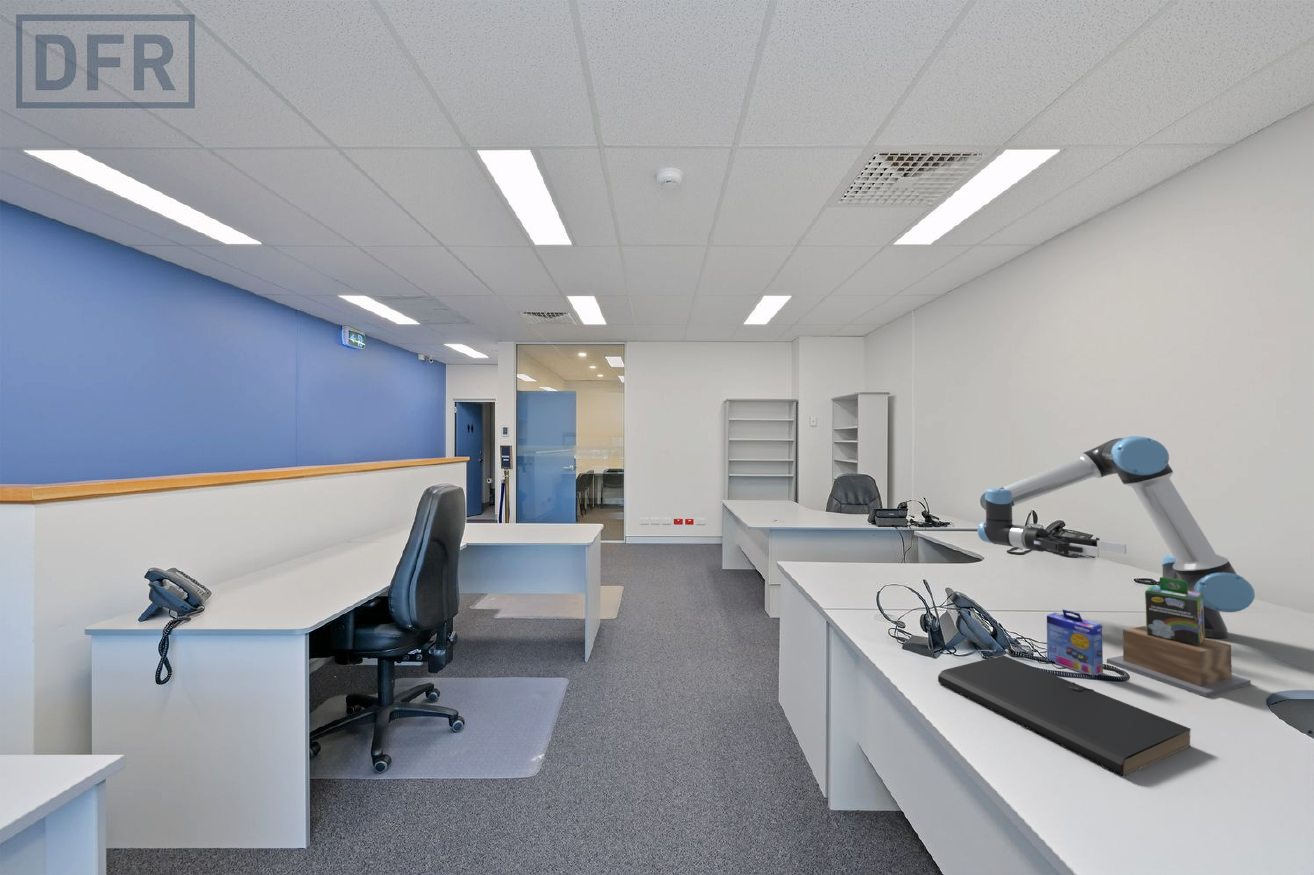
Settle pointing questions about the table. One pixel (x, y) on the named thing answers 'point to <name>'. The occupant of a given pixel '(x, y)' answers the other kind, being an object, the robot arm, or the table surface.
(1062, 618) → the ink cartridge box
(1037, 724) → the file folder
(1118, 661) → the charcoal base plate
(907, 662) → the table surface
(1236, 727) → the table surface
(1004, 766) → the table surface
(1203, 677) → the walnut base brick
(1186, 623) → the chalk box
